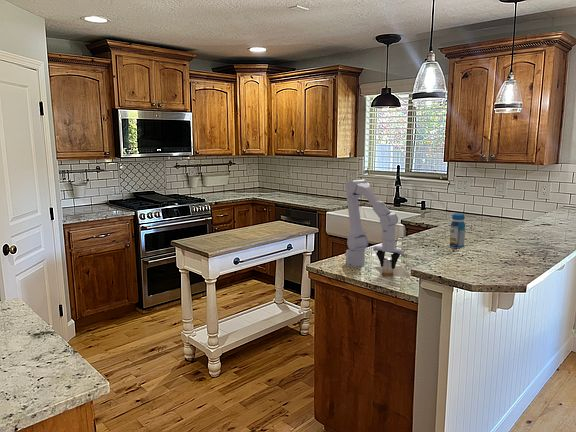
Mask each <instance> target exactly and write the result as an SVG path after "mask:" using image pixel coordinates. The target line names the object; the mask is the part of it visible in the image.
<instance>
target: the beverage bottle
mask: <svg viewBox="0 0 576 432" xmlns="http://www.w3.org/2000/svg"><path fill="white" fill-rule="evenodd" d="M465 215H466V214H464V213H459V212H457V213H452V214H451V220H452V221H451V223H450V225H449V226H450V229H449V232H450V234H449V235H450V236H449V237H450V238H449V248H451V249H454V248H462V247H464V248H465V237H466V235H465V234H466V224H465V217H466V216H465Z"/></svg>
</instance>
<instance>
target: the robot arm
mask: <svg viewBox="0 0 576 432" xmlns="http://www.w3.org/2000/svg"><path fill="white" fill-rule="evenodd" d="M345 192H346V195H345V196H346V202H347V203H346V204H347V210H348V217H349V218H348V219H349V225H350V227H349V228H350V232H349V233H348V234H347V242H346V245H347V247H348V249H346V250H345V265H346V266H347V267H362V266H365V264H366V249H367V247H368V246H369V239H368V237H367V233H366V232H365V230H363V229H362V220H361V213H360V206H359V198H360V196H361V195H363V196H364V198H366V200H367V201H368V202H369V203H370V204H371V205H372V210H373V211H374V213H375V214H376V215H377V217H378V218H379V223H380V226H381V230H382V235H381V236H382V238H381V241H382V242H381V246H377V245H375V246H372V247H373V249H372V251H373V252H376V253H375V254H376V256H377V259H378V260H379V261H378V262H379V265H380V267H382V260H383V258H386V257H385V256H386V253H389V254H390V256H391V257H390V258H392V269H394V268H395V266H397V262H398V259H399V257H401V256H403V255H405V254H404V253H405V250H404V249H402V248H396V247H395V246H396V245H395V244H396V225H397V224H398V221H399V217H398V215H397V214H396V213H394V212H392V211H391V210H390V209H389V208H388V207H387V206H386V203H385V202H384V201H380V200H378V198H377V196H376V195H375V194H374V192H373V190H372V189H371V185H370V183H369V182H368V181H367V179H363V178H362V179H353V180H352V179H350V180H348V181H347V183H346V185H345Z"/></svg>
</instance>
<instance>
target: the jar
mask: <svg viewBox="0 0 576 432" xmlns="http://www.w3.org/2000/svg"><path fill="white" fill-rule="evenodd" d="M393 272H394V270H389V271H387V270H383V269H382V273H383V274H386V275H392V274H393Z"/></svg>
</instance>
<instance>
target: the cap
mask: <svg viewBox="0 0 576 432" xmlns="http://www.w3.org/2000/svg"><path fill="white" fill-rule="evenodd" d="M382 269H383V270H387V271H389V270H394V269H392V258H391V257H384V258H383V260H382Z"/></svg>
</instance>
